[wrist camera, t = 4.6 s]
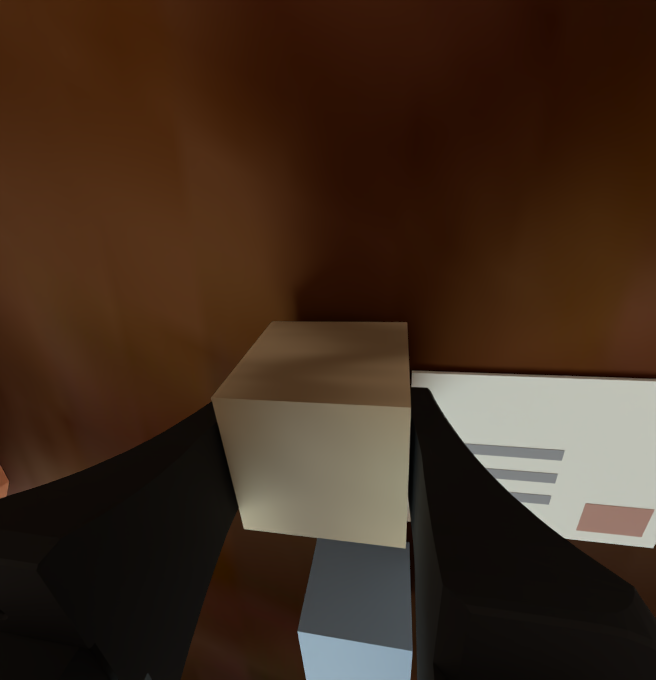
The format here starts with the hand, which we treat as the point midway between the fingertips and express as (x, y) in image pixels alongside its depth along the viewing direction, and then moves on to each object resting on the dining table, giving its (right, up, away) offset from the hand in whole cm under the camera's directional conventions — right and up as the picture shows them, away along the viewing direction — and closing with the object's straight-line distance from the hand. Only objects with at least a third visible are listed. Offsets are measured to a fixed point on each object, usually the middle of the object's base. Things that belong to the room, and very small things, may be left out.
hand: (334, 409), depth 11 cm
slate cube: (+2, -10, +8) cm, 12 cm away
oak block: (0, +1, +1) cm, 2 cm away
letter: (+8, -3, +3) cm, 9 cm away
